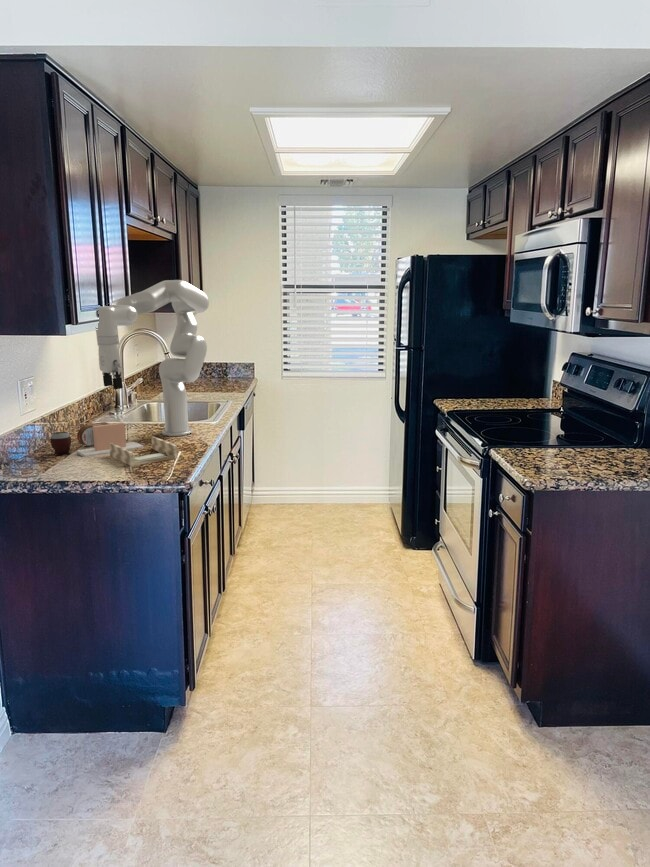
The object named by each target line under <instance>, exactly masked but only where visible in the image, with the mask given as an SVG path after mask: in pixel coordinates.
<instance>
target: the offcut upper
mask: <svg viewBox="0 0 650 867" xmlns="http://www.w3.org/2000/svg"><path fill="white" fill-rule="evenodd" d="M157 453H158V454H156V453H151V454H152V455H150V454H146V455H147V456H144V455H141V456H142V457H139V456H136V457H137V458H134V462H135V461H141V460H146V459H152V458H158V457H163V456H166V455H164V454H161V452H157Z"/></svg>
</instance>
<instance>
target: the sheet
mask: <svg viewBox="0 0 650 867" xmlns="http://www.w3.org/2000/svg"><path fill="white" fill-rule="evenodd" d="M125 429H126V428H125V423H124V422H114V423H108V424H106V425H98V426H93V437H94V448H95V450H96V451H101V450H107V449H110V446H109V443H113V444H115V445H118V446H120V447H126V443H127V440H126V431H125Z"/></svg>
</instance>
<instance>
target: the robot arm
mask: <svg viewBox="0 0 650 867" xmlns="http://www.w3.org/2000/svg"><path fill="white" fill-rule="evenodd" d="M112 302H113V303H112V305H110V306H106V305H105V306H98V307H99V311H98V314H99V323H98V328H96V327H95V333H96V343H97V346H98V363H99V364H98V365H99V370H100V372H102V380H103V381H102V382H103V386H104V387H110V386H111V387H112V386H113V390H120V389H123V388H124V386H123V379H122V377H123V376H122V364H121V356H120V351H119V346H118V345H120V340H119V329H118V326H131V325H133V324H135V323H136V321H137V320H138V318H139V315H142V314H143V315H144V314H148V313H153V312H155V311H156V310H158V309H159V308H161V307H164V306H166V305H167V304H169V303H171V306H172V309H173V311H174V313H175V316H176V327H175V330H174V333H173V337H172V339H171V342H170V345H169V346H170V347H169V351H170V353H171V355H173V356H174V357H171V358H170V357H169V358H165V359H163V360H162V361H161V362H160V364H159V366H158V374H159V378H160V382H161V387H162V398H163V399H162V400H163V410H164V411H163V414H164V429H163V430H161V435H162V436H166V435H167V436H169V437H180V436H181V437H182V436H188V435H190V433H191V434H192V433H193V429H192V428H190V427H189V414H188V398H187V397H188V396H187V390H186V386H185V383H194V382H195V381H197V379H198V378H199V377H200V373H201V370H202V368H203V364H204V362H205V359H206V355H207V352H208V345H207V341H206V339H205V338H204V337H203V336H202V335H199V334H197V331H198V323H197V319H196V318H195V315H194V314H195V313H198V314H199V313H205V312H206V311H207V310H208V308H209V306H210V300H209V297H208V295H207V294H206V293H205V292H204V291H202V290H200V289H199V288H197V287H196V286H194V285H192V284H191V283H189V282H187V281H185V280H182V279H173V280H172V279H170V280H169V279H167V280H162V281H160V282H158V283H156V284H154V285H152V286H150V287H148V288H146V289H144V290H142V291H138V292H135V293H133V294H130V295H126V296H124V297H121V298H118V299H116V300H113V301H112ZM96 329H98V330H96ZM175 357H177V358H175ZM187 434H188V435H187ZM167 436H166V437H167Z"/></svg>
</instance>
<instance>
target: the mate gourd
mask: <svg viewBox="0 0 650 867" xmlns="http://www.w3.org/2000/svg"><path fill="white" fill-rule="evenodd" d="M40 417H41V418H42V419H44V420H46V421H47V423H48V425H49V426H50V427H51V429H52V432H53V433H52V434H51V435H50V439H49V440H50V441H49V442H50V446H51V448H52V449H53V451H54V453H53V454H54V455H55V456H56V457H59V456H63V455H65V456H67V455H68V456H69V455H71V452H70V450H71V445H72V437H71V435H70V434H69V432H67V431H57V432H56V430H55V429H54V426H53V424H52V421H51V420H49V419H48V418H46V417H45V416H42V415H41V416H40Z"/></svg>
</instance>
